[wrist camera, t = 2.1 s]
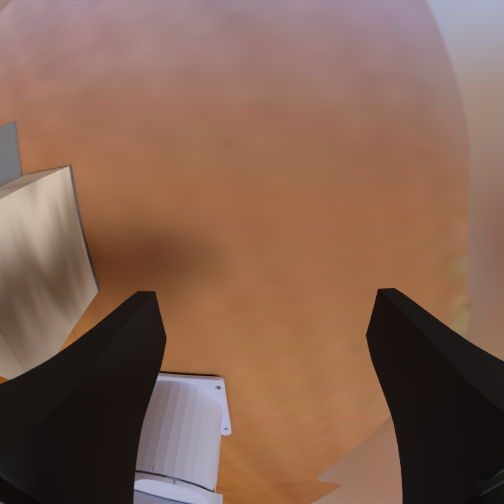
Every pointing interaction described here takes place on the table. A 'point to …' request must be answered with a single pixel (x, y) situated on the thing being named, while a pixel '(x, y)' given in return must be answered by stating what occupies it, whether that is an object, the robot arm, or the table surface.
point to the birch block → (41, 268)
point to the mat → (9, 154)
